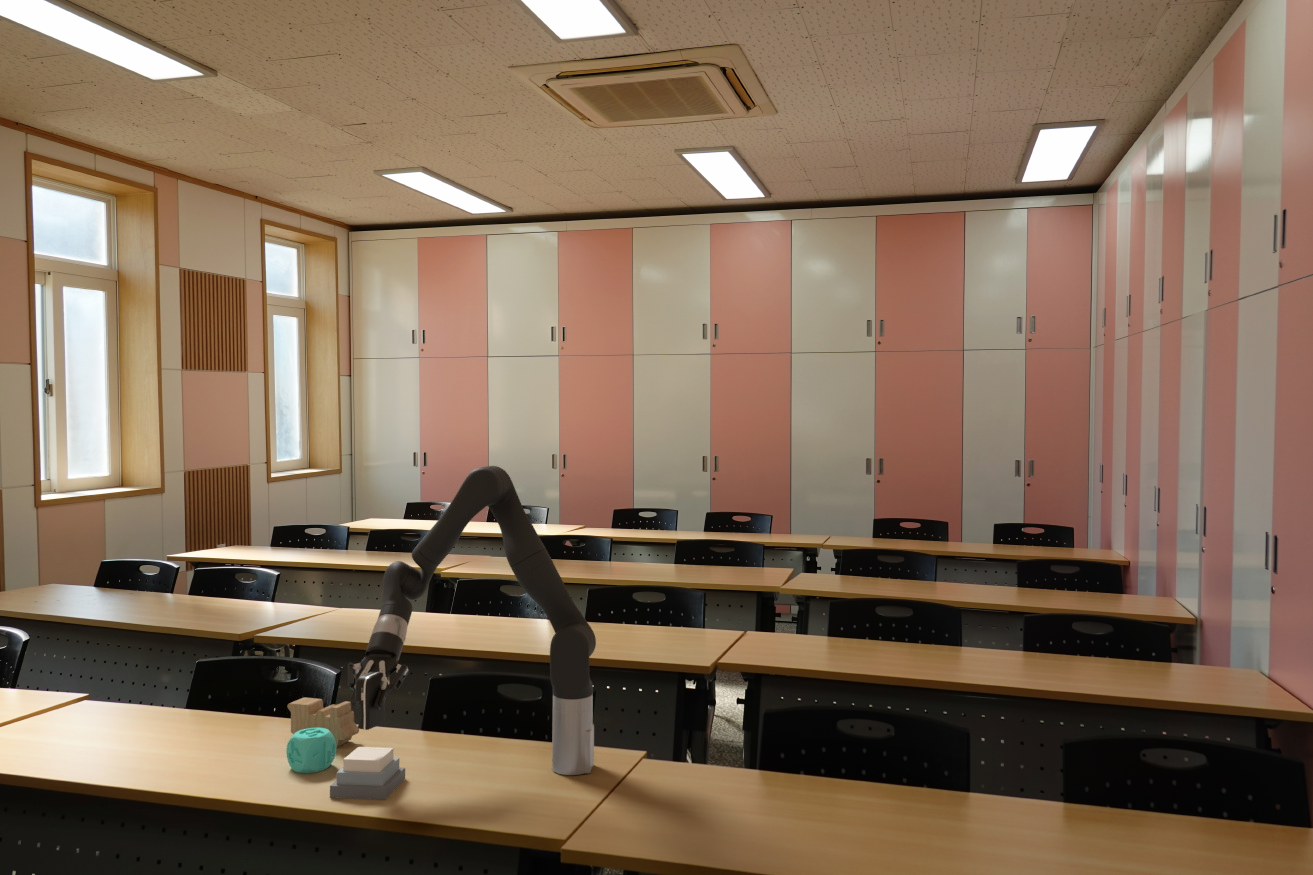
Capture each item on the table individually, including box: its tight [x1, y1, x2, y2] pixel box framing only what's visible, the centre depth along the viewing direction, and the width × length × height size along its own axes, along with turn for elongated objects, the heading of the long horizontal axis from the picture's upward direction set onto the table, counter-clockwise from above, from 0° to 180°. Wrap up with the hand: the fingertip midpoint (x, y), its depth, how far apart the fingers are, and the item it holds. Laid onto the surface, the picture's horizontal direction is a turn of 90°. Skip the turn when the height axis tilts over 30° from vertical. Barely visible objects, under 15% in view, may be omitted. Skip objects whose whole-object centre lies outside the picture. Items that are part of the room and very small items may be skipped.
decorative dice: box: [285, 728, 337, 774], centre depth 212 cm, size 8×8×8 cm
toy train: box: [287, 697, 360, 748], centre depth 229 cm, size 6×17×10 cm, turn 73°
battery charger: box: [355, 672, 386, 731], centre depth 200 cm, size 7×4×11 cm, turn 164°
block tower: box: [329, 746, 406, 801], centre depth 199 cm, size 12×12×8 cm
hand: (366, 707), depth 198 cm, fingers closed on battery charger, 4 cm apart
